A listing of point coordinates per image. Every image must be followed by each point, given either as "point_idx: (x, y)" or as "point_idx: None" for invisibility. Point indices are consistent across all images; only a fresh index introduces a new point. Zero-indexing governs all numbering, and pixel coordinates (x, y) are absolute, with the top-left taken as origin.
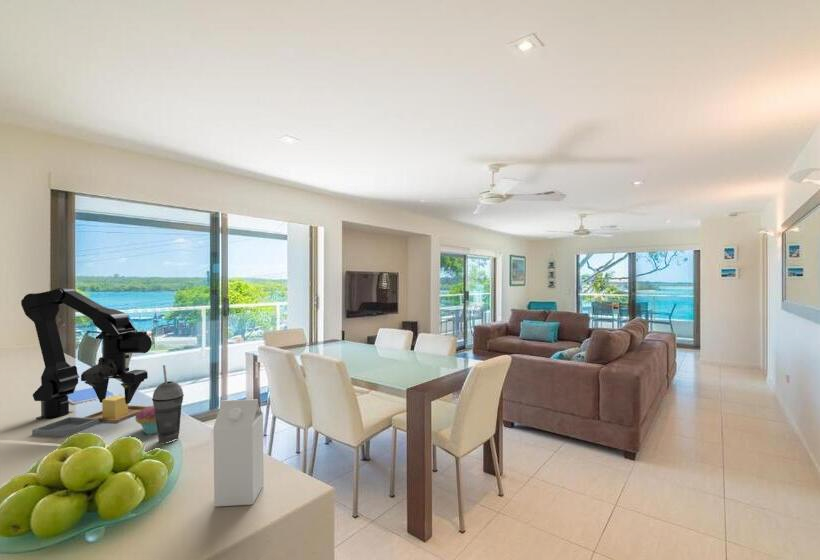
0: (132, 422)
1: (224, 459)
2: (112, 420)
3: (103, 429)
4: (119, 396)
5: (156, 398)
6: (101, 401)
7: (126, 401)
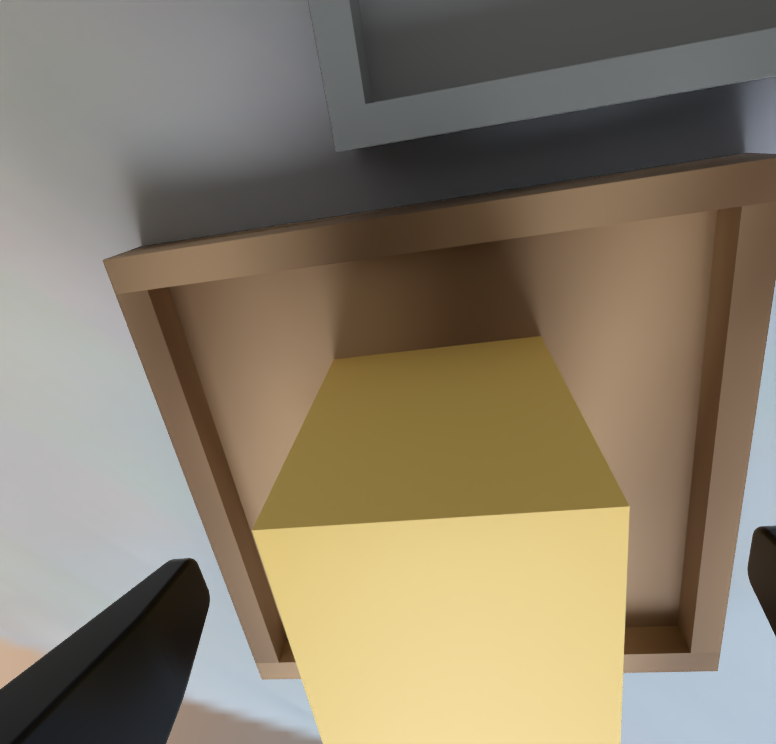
0: (75, 356)
1: None
2: (192, 245)
3: (118, 46)
4: (468, 723)
5: None
6: (768, 545)
7: (136, 587)
